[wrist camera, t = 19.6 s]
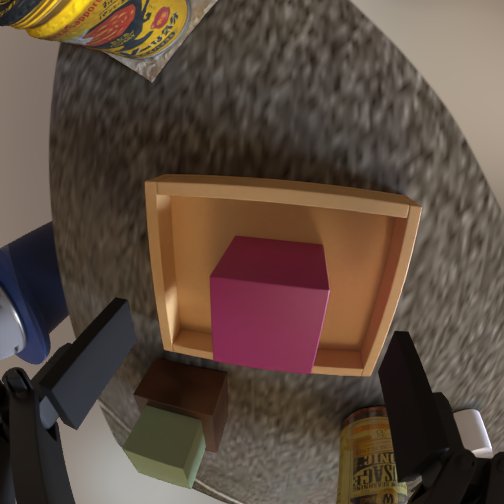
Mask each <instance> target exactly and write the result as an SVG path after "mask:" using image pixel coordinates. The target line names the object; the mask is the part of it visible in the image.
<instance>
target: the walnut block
mask: <svg viewBox="0 0 504 504" xmlns="http://www.w3.org/2000/svg"><path fill="white" fill-rule="evenodd" d="M134 397H135V400H136V403H137V405H138V408H139V410H140V413H142V411H143V409H144V408H145V406H146V405H148V406H151V407H155V408H158V409H161V410H165V411H169V412H172V413H176V414H180V415H184V416H188V417H192V418H196V419H200V420H201V422H202V428H203V434H204V440H205V445H206V447H205V450H207V451H211V452H216V453H217V451H218V447H219V444H220V441H221V437H222V434H223V431H224V427H225V424H226V420H227V417H228V395H227V373H226V372H220V371H215V370H210V369H204V368H199V367H194V366H190V365H185V364H181V363H176V362H172V361H168V360H163V359H159V358H155V360H154V361H153V363H152V364H151V366H150V368H149V369H148V371H147V373H146V374H145V376H144V378H143V379H142V381H141V383H140V384H139V386H138V388H137V389H136V391H135V393H134Z"/></svg>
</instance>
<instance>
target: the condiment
mask: <svg viewBox="0 0 504 504" xmlns="http://www.w3.org/2000/svg"><path fill="white" fill-rule="evenodd" d="M217 1H218V0H0V26H11V27H13V28H15V29H25V30H26V31H27V33H28V34H29V35H30V36H32V37H34V38H38V39H44V40H50V41H59V42H64V43H70V44H73V45H78V46H81V47H85V48H91V49H92V50H93V49H94V50H100V51H103V52H104V53H106V54H108V55H109V56H111V57H113V58H115V59H116V60H118V61H120V62H121V63H123V64H124V65H126V66H128V67H129V68H131V69H132V70H134V71H136V72H137V73H138V74H140V75H142V76H143V77H145V78H146V79H148V80H149V81H150V82H153V81H154V80H155V78H156V77H157V75H158V74H159V72H160V71H161V70H162V68H163V67H164V66H165V64H166V63H167V62H168V60H169V59H170V58H171V57H172V55H173V54H174V53H175V52H176V50H177V49H178V48H179V46H180V45H181V44H182V43H183V41H184V40H185V39H186V37H187V36H188V35H189V34H190V33H191V31H192V30H193V29H194V28H195V27H196V25H197V24H198V23H199V22H200V20H201V19H202V18H203V17H204V15H205V14H206V13H207V12H208V11H209V10H210V8H211V7H212V6H213V5H214V4H215V3H216V2H217Z"/></svg>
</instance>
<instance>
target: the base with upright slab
mask: <svg viewBox="0 0 504 504" xmlns="http://www.w3.org/2000/svg"><path fill="white" fill-rule="evenodd" d="M453 415H454V419H455V421H456V424H457V427H458V430H459V433H460V436H461V439H462V443H463V446H464V448H465V449H468V450H470V451H472V452H473V453H474V455H475V456H476V457H478V458H492V457H494V456H493V453H492V447H491V444H490V441H489V438H488V435H487V432H486V430H485V427H484V424H483V421H482V419H481V416H480V413H479V412H478V411H477V410H474V409H467V410H462V411H458V412H456V413H453Z"/></svg>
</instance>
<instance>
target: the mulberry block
mask: <svg viewBox="0 0 504 504" xmlns="http://www.w3.org/2000/svg"><path fill="white" fill-rule="evenodd" d="M329 292H330V288H329V280H328V273H327V266H326V259H325V252H324V245H322V244H313V243H303V242H294V241H284V240H274V239H264V238H254V237H244V236H235V237H234V239H233V240H232V242H231V243H230V245H229V246H228V248H227V250H226V251H225V253H224V254H223V256H222V257H221V259H220V261H219V262H218V264H217V265H216V267H215V269H214V270H213V272H212V273H211V275H210V305H211V329H212V349H213V361H216V362H222V363H228V364H234V365H240V366H246V367H253V368H260V369H268V370H276V371H284V372H294V373H304V374H311V372H312V368H313V364H314V360H315V356H316V352H317V348H318V343H319V339H320V335H321V330H322V326H323V321H324V317H325V312H326V307H327V302H328V297H329Z"/></svg>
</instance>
